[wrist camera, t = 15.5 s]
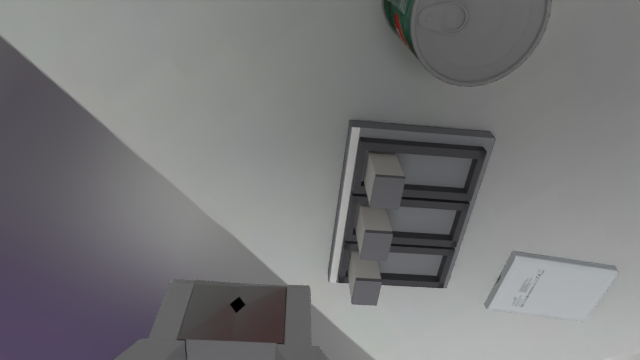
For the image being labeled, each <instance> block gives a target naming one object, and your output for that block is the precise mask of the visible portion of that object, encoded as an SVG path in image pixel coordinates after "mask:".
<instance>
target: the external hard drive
mask: <svg viewBox="0 0 640 360" xmlns="http://www.w3.org/2000/svg"><path fill="white" fill-rule="evenodd" d="M618 273H619V271H618V270H617V269H616V267H615V266H611V265H605V264H598V263H591V262H584V261H577V260H570V259H564V258H557V257H550V256H543V255H536V254H530V253H523V252H516V251H512V253H511V255H510V257H509V259H508V261H507V262H506V264H505V266H504V268H503V270H502V272H501V277H500V278H499V281H498V282H497V283H495V285H494V287H493V288H492V290H491V292H490V294H489V296H488V298H487V300H486V301H485V303H484V305H485V307H486V309H489V310H497V311H504V312H511V313H519V314H527V315H534V316H542V317H549V318H556V319H564V320H572V321H580V322H583V321H585V320H586V319H587V317H588V316H589V315H590V313H591V312H592V310H593V309H594V308H595V306H596V305H597V303H598V302H599V301H600V299H601V298H602V296H603V295H604V294H605V292H606V291H607V290H608V288H609V287H610V285H611V284H612V283H613V281H614V280H615V278H616V277H617V275H618Z"/></svg>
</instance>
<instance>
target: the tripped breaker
mask: <svg viewBox="0 0 640 360" xmlns="http://www.w3.org/2000/svg"><path fill="white" fill-rule="evenodd" d="M347 271H348V279H349V287H350V294H351V302H352V304H357V305H377V301H378V297H379V292H380V288H381V284H382V280H381V276H380V271H379V267H378V262H377V261H376V260H360V254H359V251H358V250H351V252H350V258H349V264H348V269H347Z"/></svg>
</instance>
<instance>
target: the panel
mask: <svg viewBox="0 0 640 360" xmlns="http://www.w3.org/2000/svg"><path fill="white" fill-rule="evenodd" d="M495 139H496V138H495V137H494V136H493V135H492V134H491V133H490V132H488V131H476V130H464V129H451V128H439V127H427V126H415V125H402V124H390V123H378V122H365V121H353V120H349V127H348V134H347V141H346V148H345V155H344V162H343V170H342V177H341V184H340V191H339V198H338V205H337V212H336V219H335V226H334V233H333V240H332V247H331V254H330V261H329V268H328V281H329V282H330V283H336V282H338V283H349V279H348V271H347V269H348V264H349V258H350V252H351V250H358V251H359V248H358V242H357V236H356V230H355V225H356V219H357V213H358V207H359V204H369V201H368V197H367V193H366V189H365V184H364V180H363V178H364V172H365V166H366V161H367V155H368V151H376V152H389V153H395V154H396V156H397V159H398V161H399V164H400V166H401V168H402V171H403V173H404V176H405V178H406V180H405V184H404V189H403V193H402V198H401V202H400V206H399V210H389V209H386V211H387V215H388V218H389V222H390V225H391V229H392V232H393V237H392V242H391V246H390V250H389V255H388V259H387V261H377V262H378V267H379V271H380V276H381V280H382V284H381V285H391V286H410V287H429V288H447V285H448V282H449V279H450V276H451V273H452V270H453V267H454V264H455V261H456V258H457V255H458V252H459V249H460V245H461V242H462V239H463V236H464V233H465V230H466V227H467V224H468V221H469V218H470V215H471V212H472V209H473V206H474V203H475V200H476V197H477V194H478V191H479V188H480V185H481V182H482V179H483V175H484V172H485V169H486V166H487V163H488V160H489V157H490V154H491V151H492V148H493V145H494V142H495Z"/></svg>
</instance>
